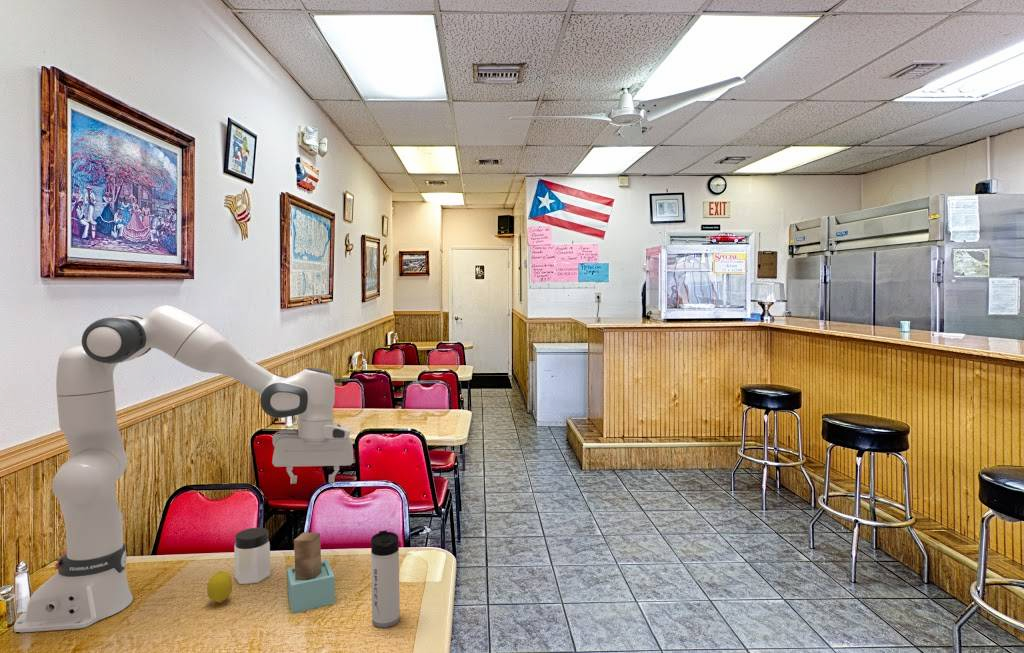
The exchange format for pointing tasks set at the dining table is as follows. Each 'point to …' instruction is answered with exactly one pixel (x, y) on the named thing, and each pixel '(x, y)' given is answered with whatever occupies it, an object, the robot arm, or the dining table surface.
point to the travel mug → (385, 579)
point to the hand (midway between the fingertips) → (312, 482)
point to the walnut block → (307, 556)
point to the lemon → (219, 586)
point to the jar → (252, 555)
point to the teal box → (311, 589)
